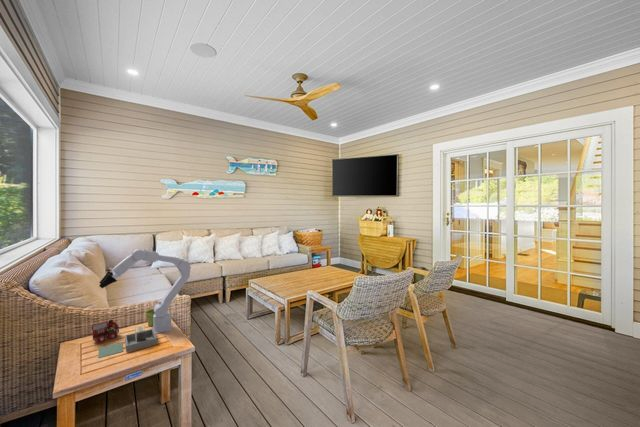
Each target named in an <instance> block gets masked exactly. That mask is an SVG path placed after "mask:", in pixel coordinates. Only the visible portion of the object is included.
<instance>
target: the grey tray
mask: <svg viewBox="0 0 640 427" xmlns="http://www.w3.org/2000/svg"><path fill="white" fill-rule="evenodd" d="M153 329H154V328H150V329H145V331H146V340H145V341H141V342H137V343H136V337H135V332H133V333H130V334H129V333H128V334H125V335H124V344H125V352H126V353H127V352H133V351H135V350H140V349H143V348H146V347H151V346H155V345H157V344H158V337H157V335H156V334H155V332H154V330H153Z"/></svg>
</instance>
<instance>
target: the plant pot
mask: <svg viewBox="0 0 640 427" xmlns="http://www.w3.org/2000/svg"><path fill="white" fill-rule="evenodd" d="M144 314H145V316H146V319H147V324H148V326H149V327H153V316H154V314H155V312H154V311H153V308H151V309H148V310H146V311H144Z"/></svg>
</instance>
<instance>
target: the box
mask: <svg viewBox="0 0 640 427" xmlns="http://www.w3.org/2000/svg"><path fill="white" fill-rule="evenodd" d="M145 330H146V329H145V326H144V325H142V326H137V327H135V330H134V333H135V337H136V343H137V342H141V341H145V340H146V331H145Z"/></svg>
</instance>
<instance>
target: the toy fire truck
mask: <svg viewBox="0 0 640 427" xmlns="http://www.w3.org/2000/svg"><path fill="white" fill-rule="evenodd" d="M90 327H91V331H92V341H96V343H98V344H102V343H104V342H106V340H107V338H108V340H111V341H112V340H115V339H116V338H117V337H118V334H119V333H120V327H119V324H117V323H116V322H115V321H114V320H113V319H109V320H108V321H106V320H105V321H102V322H97V323H93V324H92V325H91V326H90Z"/></svg>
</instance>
